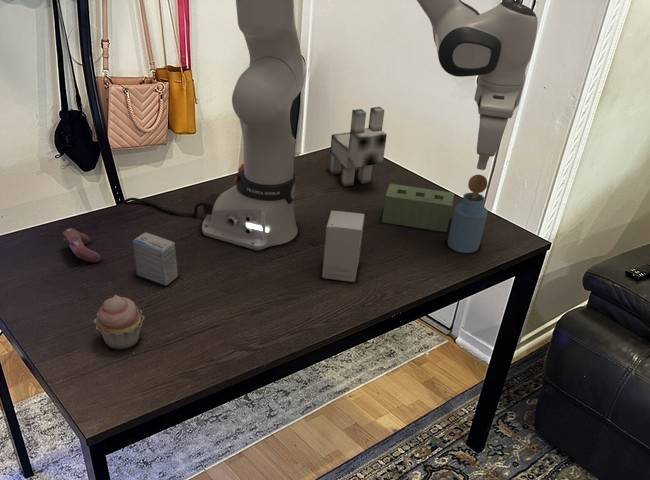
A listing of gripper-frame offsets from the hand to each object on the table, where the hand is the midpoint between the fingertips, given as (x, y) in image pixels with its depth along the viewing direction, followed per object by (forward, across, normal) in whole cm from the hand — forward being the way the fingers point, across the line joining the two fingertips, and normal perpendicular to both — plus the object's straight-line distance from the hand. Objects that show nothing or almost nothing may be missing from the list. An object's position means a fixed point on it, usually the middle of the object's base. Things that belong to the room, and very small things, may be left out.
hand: (482, 159), depth 150 cm
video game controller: (+22, +31, -81) cm, 89 cm away
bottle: (+21, 0, 0) cm, 21 cm away
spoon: (+20, 0, 0) cm, 20 cm away
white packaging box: (+21, +20, -25) cm, 38 cm away
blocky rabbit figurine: (+21, -26, -31) cm, 46 cm away
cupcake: (+22, +56, -60) cm, 85 cm away
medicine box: (+22, +34, -62) cm, 74 cm away
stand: (+21, -8, -12) cm, 25 cm away
